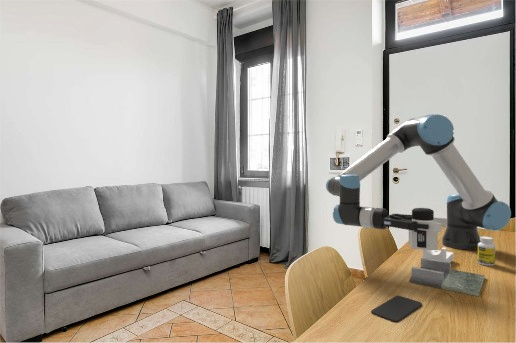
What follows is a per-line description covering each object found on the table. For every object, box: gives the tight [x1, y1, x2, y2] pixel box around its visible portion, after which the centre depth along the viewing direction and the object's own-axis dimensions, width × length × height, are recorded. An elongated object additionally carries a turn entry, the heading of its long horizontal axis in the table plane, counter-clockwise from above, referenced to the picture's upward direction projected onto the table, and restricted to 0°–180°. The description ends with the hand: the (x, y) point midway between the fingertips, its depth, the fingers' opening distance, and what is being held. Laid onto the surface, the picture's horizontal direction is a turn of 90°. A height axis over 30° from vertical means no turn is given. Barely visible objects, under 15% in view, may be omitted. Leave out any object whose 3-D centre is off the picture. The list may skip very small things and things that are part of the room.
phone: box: [370, 295, 423, 323], centre depth 89 cm, size 7×1×15 cm
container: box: [408, 207, 439, 251], centre depth 112 cm, size 8×8×13 cm
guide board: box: [409, 257, 486, 297], centre depth 109 cm, size 18×18×4 cm
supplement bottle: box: [476, 236, 496, 267], centre depth 124 cm, size 5×5×10 cm
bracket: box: [422, 246, 454, 263], centre depth 125 cm, size 13×7×8 cm, turn 137°
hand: (444, 225), depth 108 cm, fingers closed on container, 9 cm apart
